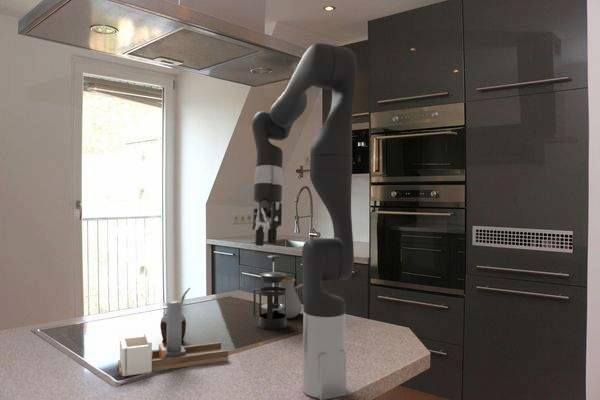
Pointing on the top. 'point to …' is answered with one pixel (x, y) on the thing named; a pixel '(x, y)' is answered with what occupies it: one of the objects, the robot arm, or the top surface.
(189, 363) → the track
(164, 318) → the mate gourd
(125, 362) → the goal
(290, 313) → the coffee pot
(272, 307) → the french press
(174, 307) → the grey tall cylindrical piece
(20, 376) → the top surface
